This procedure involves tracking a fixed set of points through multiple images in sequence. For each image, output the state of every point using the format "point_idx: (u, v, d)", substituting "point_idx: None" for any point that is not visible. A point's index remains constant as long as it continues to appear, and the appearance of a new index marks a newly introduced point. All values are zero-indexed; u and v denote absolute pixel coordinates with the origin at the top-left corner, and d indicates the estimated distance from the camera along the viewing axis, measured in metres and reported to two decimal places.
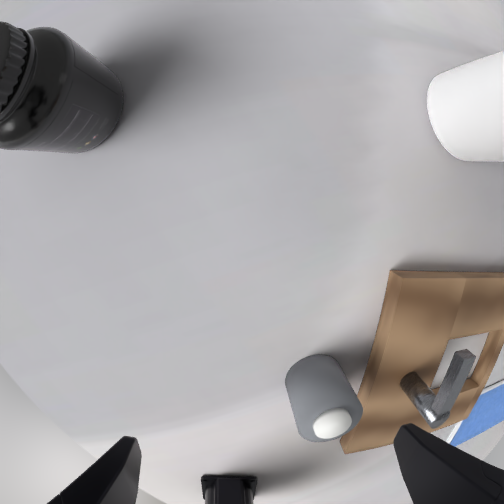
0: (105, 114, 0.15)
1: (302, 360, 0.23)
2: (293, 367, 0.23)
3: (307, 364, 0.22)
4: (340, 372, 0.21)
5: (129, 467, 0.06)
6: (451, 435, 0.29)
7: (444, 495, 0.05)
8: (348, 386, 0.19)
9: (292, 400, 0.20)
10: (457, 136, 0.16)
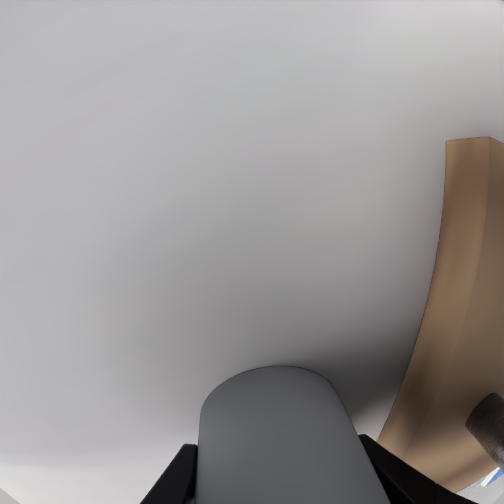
0: None
1: (234, 380, 0.08)
2: (212, 396, 0.08)
3: (242, 394, 0.08)
4: (337, 419, 0.07)
5: (195, 476, 0.06)
6: None
7: None
8: (360, 469, 0.05)
9: (195, 485, 0.06)
10: None
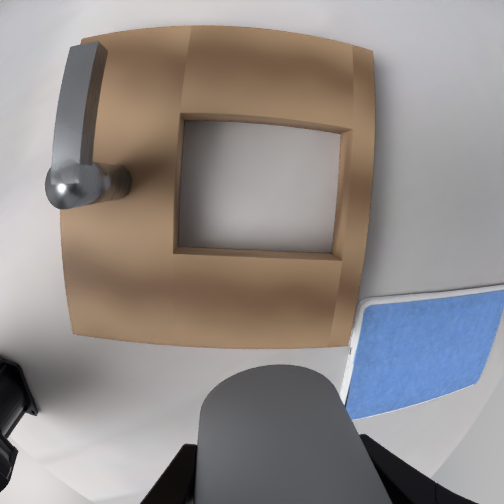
0: None
1: (234, 378, 0.08)
2: (211, 395, 0.08)
3: (242, 393, 0.08)
4: (338, 418, 0.07)
5: None
6: (342, 390, 0.22)
7: None
8: (362, 468, 0.05)
9: (194, 485, 0.06)
10: None
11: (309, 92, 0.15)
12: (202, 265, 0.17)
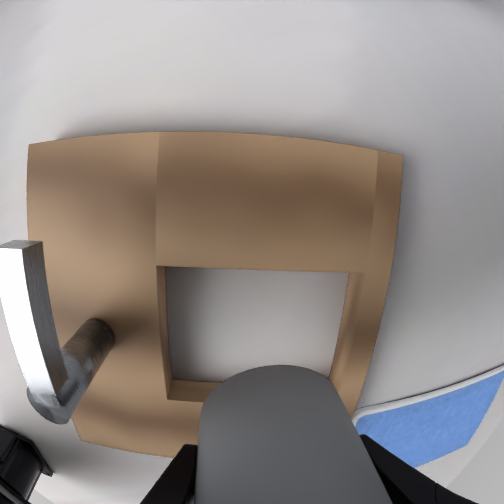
0: None
1: (234, 379, 0.08)
2: (212, 395, 0.08)
3: (242, 393, 0.08)
4: (338, 418, 0.07)
5: None
6: None
7: None
8: (362, 468, 0.05)
9: (195, 486, 0.06)
10: None
11: (316, 232, 0.13)
12: (197, 408, 0.15)
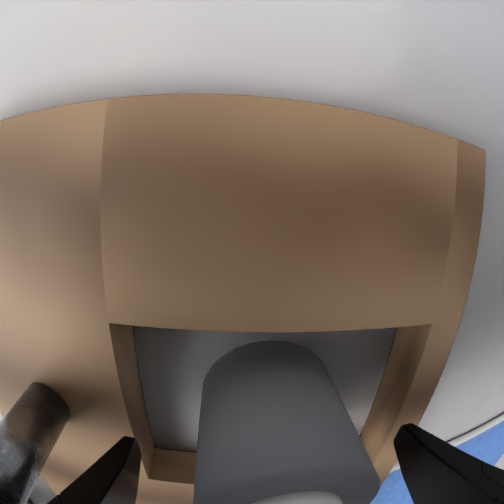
0: None
1: (233, 353, 0.10)
2: (213, 368, 0.10)
3: (239, 363, 0.09)
4: (323, 385, 0.08)
5: (129, 467, 0.06)
6: None
7: (444, 495, 0.05)
8: (342, 426, 0.06)
9: (197, 447, 0.07)
10: None
11: (373, 268, 0.08)
12: (188, 489, 0.09)
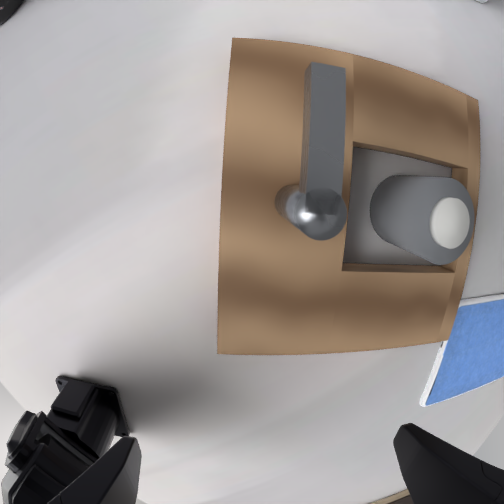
0: None
1: (387, 178, 0.18)
2: (379, 187, 0.18)
3: (396, 177, 0.18)
4: None
5: (129, 467, 0.06)
6: (430, 378, 0.23)
7: (444, 495, 0.05)
8: None
9: (392, 208, 0.16)
10: None
11: (443, 135, 0.16)
12: (364, 280, 0.18)
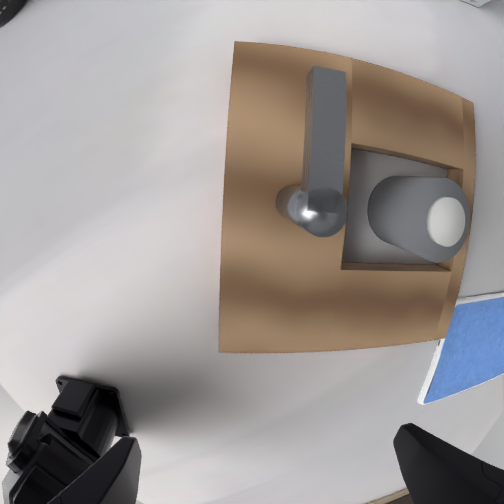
0: None
1: (384, 179, 0.19)
2: (376, 187, 0.19)
3: (393, 178, 0.18)
4: None
5: (129, 467, 0.06)
6: (428, 376, 0.24)
7: (444, 495, 0.05)
8: None
9: (389, 208, 0.17)
10: None
11: (439, 137, 0.17)
12: (362, 278, 0.18)
